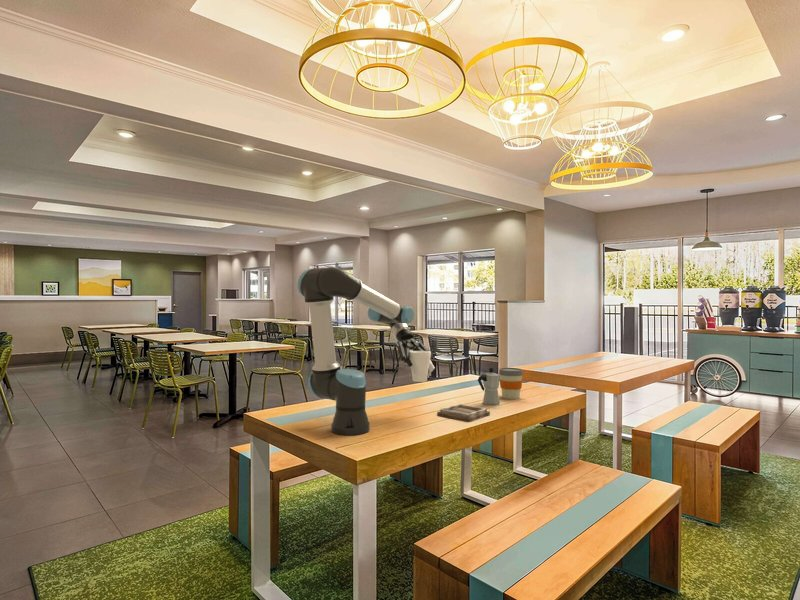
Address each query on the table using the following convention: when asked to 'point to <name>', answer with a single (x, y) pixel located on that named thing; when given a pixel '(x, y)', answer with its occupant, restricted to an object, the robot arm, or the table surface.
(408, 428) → the table surface
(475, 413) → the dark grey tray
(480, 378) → the coffee maker
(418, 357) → the foam cup
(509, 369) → the reusable coffee cup
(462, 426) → the table surface
